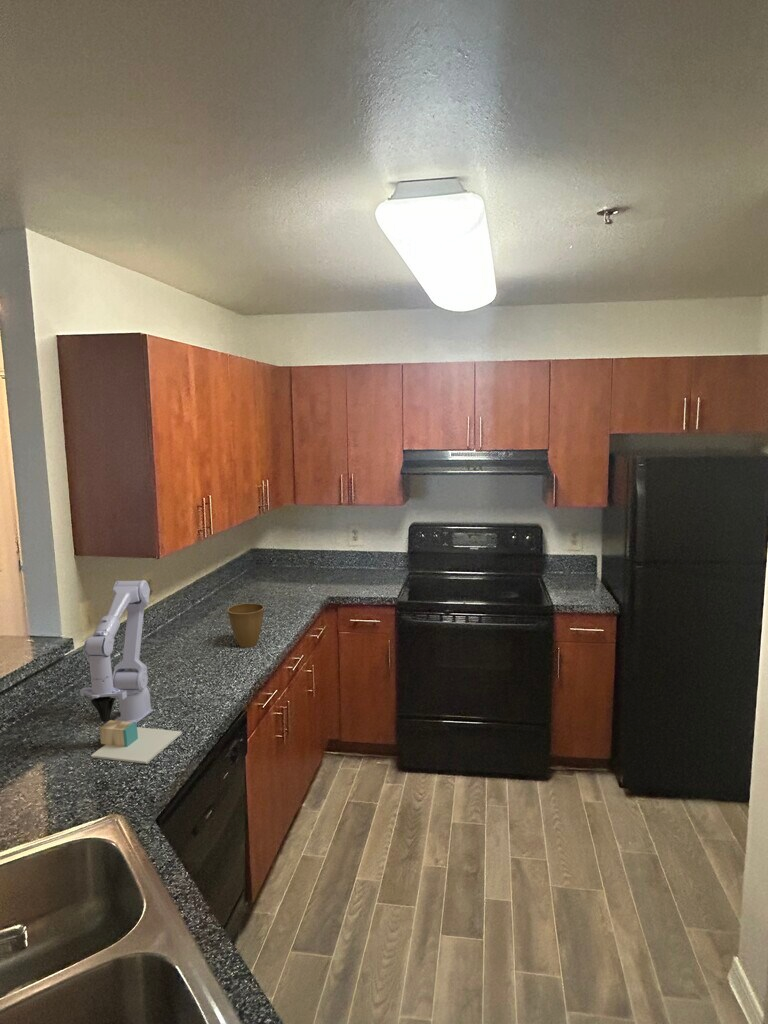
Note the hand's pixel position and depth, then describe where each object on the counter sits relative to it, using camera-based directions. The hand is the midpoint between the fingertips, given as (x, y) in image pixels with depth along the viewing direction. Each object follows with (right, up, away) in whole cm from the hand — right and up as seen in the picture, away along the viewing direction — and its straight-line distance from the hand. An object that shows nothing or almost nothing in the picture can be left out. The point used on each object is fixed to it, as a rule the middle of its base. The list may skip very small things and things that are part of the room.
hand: (106, 719), depth 194 cm
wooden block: (0, -4, +1) cm, 4 cm away
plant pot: (+25, +5, +82) cm, 86 cm away
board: (+10, -7, -2) cm, 12 cm away
